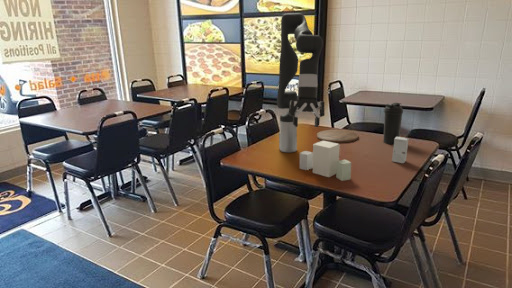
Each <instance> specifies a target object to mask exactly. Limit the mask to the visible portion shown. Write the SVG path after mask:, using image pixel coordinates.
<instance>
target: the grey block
mask: <svg viewBox="0 0 512 288" xmlns="http://www.w3.org/2000/svg"><path fill="white" fill-rule="evenodd" d="M299 169H300V170H303V171H306V170H308V171H310V170H313V151H312V152H311V151H309V150H303V151H301V152H299ZM309 169H310V170H309Z"/></svg>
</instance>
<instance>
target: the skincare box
mask: <svg viewBox="0 0 512 288" xmlns="http://www.w3.org/2000/svg"><path fill="white" fill-rule="evenodd" d="M409 140H410V139H409V138H407V137H401V136H399V137H396V138H395V139H394V144H393V148H392V149H393V150H392V157H391V162H394V163H399V164H405V163H406V161H407V154H408V147H409Z"/></svg>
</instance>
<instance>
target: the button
mask: <svg viewBox="0 0 512 288" xmlns="http://www.w3.org/2000/svg"><path fill="white" fill-rule="evenodd" d="M341 149H342V145H340V144H339V159H340V158H341V153H342V151H341Z"/></svg>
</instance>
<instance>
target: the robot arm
mask: <svg viewBox="0 0 512 288" xmlns="http://www.w3.org/2000/svg"><path fill="white" fill-rule="evenodd" d="M280 20H281V21H280V54H279V56H280V57H279V66H278V67H279V68H278V69H279V70H278V71H279V73H278V74H279V75H278V78H279V79H278V87H277V95H276V105H277V107H278V108H279V109H288V111H286V112H284V113H282V114H281V115H280V116H279V133H278V143H279V144H278V145H279V146H278V147H279V148H278V149H279V150H280V151H281V152H282V153H294V152H296V151H297V150H298V148H297V147H298V145H297V142H298V139H297V137H298V134H297V133H298V131H297V130H298V129H297V127H298V125H299V124H298V122H299V121H298V120H299V118H298V116H299V115H300V114H301V113H302V112H303V113H304V112H305V113H307V112H308V113H312V114H313V115H314V128H318V127H319V126H320V122H321V121H320V119H321V118H322V117H324V116H325V101H318V100H317V99H318V86H319V83H318V66H319V65H318V63H319V60H320V56H321V52H322V49H323V47H324V40H323V38H322V36H320V35H318V34H313V32H312V30H310V28H309V25H308V22H307V19H306V16H305V15H304V14H303V13H299V12H297V13H282V16H281V19H280ZM289 35H293V36H294V39H295V48H296V51H297V52H298V53H300V54H312V55H311V57H309V58H304V59H301V60H300V62H299V56H298V54H297V53H296V51H295V49H294V48H293V46H292V44H291V42H290V40H289ZM298 68H299V73H298ZM297 73H298V75H299V76H298V81H297V82H298V85H297V88H298V89H297V92H296V91H295V90H287V91H286V89H287V87H288V85H289V84H290V82H291V81H292V80H293V79H294V78H295V76H296V75H297ZM317 106H318V107H319V112H318V110H317V108H316V107H317Z"/></svg>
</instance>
